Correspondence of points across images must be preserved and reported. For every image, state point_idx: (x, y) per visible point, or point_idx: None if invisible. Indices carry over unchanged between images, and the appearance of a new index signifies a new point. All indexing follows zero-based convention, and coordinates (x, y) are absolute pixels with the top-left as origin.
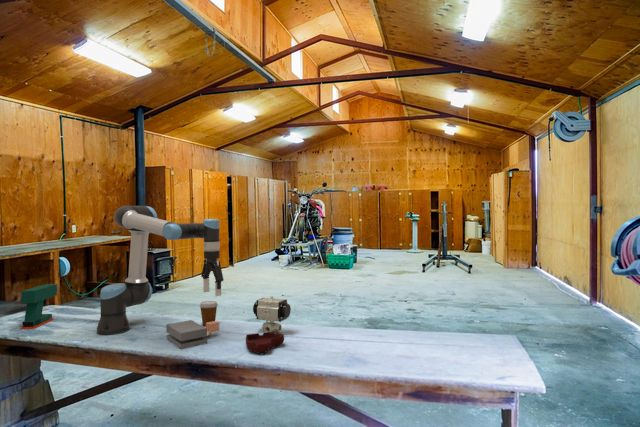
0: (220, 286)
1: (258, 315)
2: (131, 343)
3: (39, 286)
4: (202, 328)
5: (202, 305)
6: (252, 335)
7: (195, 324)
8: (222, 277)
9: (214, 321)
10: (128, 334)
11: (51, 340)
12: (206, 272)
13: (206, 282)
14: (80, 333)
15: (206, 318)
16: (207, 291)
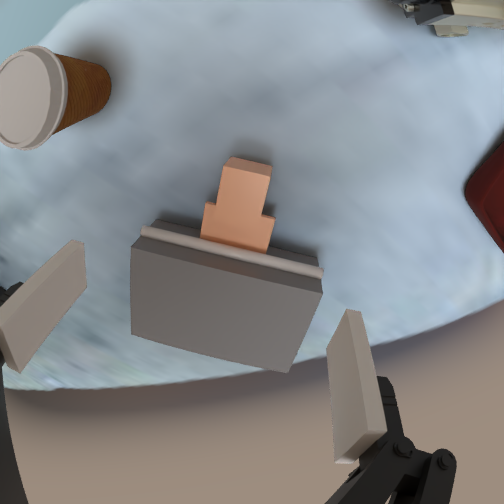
0: (392, 403)
1: (438, 23)
2: (126, 359)
3: None
4: (309, 306)
5: (29, 146)
6: (491, 184)
7: (222, 284)
8: (446, 491)
9: (229, 176)
10: None
11: (30, 387)
12: (12, 457)
13: (33, 326)
14: None
15: (83, 116)
16: (82, 261)
